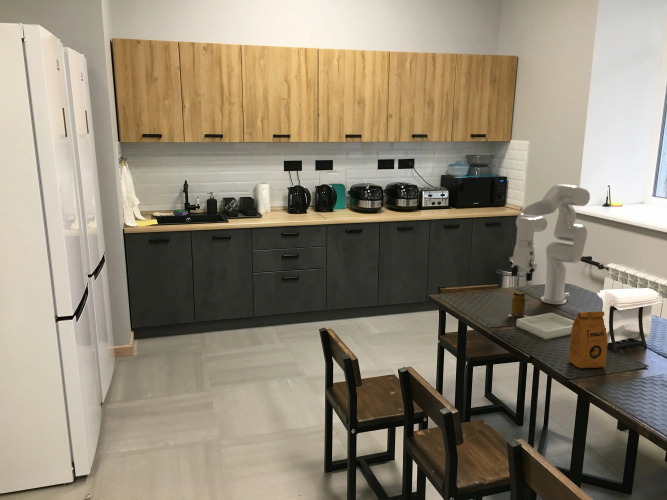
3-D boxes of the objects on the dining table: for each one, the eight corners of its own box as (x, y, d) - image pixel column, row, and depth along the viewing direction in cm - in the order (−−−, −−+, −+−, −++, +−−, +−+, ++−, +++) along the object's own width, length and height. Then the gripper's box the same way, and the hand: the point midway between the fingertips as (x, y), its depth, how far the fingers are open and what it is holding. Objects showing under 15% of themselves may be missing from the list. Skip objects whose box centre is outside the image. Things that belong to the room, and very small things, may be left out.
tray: (551, 319, 273) (552, 312, 272) (582, 331, 257) (582, 324, 257) (516, 326, 264) (516, 319, 263) (545, 339, 248) (546, 331, 247)
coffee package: (608, 370, 217) (615, 315, 213) (577, 371, 216) (583, 316, 212) (595, 359, 227) (600, 307, 222) (565, 360, 226) (570, 307, 221)
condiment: (515, 312, 283) (517, 289, 280) (531, 317, 276) (532, 293, 274) (507, 316, 278) (508, 292, 276) (522, 320, 272) (524, 296, 269)
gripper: (544, 246, 263) (540, 281, 267) (517, 239, 278) (514, 273, 282) (531, 247, 260) (528, 283, 264) (505, 240, 275) (502, 274, 279)
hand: (521, 278), depth 273 cm, fingers open, 9 cm apart
